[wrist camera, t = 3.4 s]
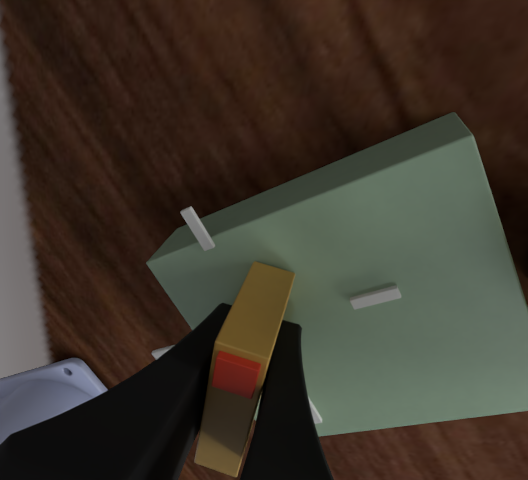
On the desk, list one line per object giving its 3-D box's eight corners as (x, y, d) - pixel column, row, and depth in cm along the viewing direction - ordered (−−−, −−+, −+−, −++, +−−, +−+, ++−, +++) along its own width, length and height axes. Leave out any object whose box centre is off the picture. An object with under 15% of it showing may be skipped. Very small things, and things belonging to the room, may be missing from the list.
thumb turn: (264, 383, 14) (234, 487, 11) (230, 371, 15) (190, 470, 11) (295, 272, 12) (267, 367, 9) (253, 260, 12) (211, 349, 9)
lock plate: (243, 399, 19) (226, 451, 17) (120, 222, 16) (77, 257, 13) (531, 348, 14) (561, 412, 12) (442, 72, 11) (459, 88, 9)
